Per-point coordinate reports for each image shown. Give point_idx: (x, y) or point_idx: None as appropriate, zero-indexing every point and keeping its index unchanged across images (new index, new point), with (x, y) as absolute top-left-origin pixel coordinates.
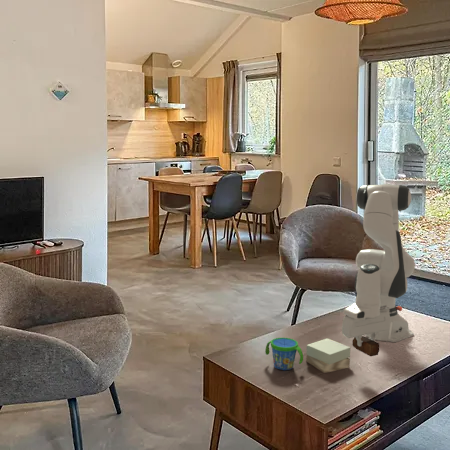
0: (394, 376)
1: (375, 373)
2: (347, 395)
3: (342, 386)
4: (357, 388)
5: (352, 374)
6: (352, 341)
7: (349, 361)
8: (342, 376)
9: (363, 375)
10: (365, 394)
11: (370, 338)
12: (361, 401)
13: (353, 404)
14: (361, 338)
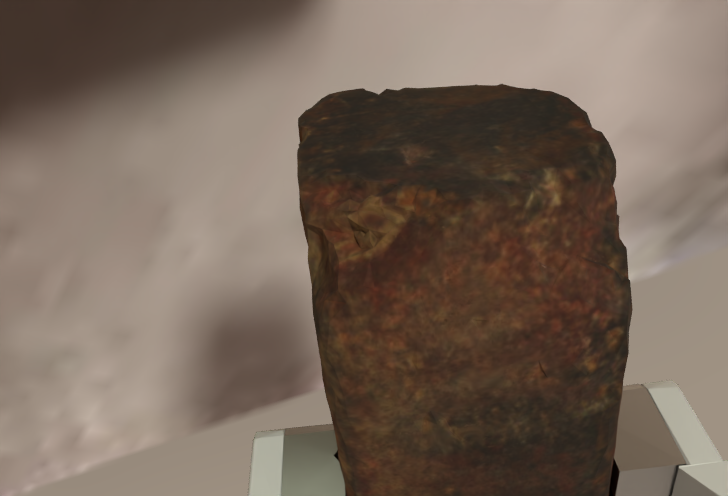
0: (695, 183)
1: (575, 65)
2: (42, 367)
3: (50, 229)
4: (187, 293)
5: (295, 4)
6: (299, 151)
7: None
8: (140, 17)
9: (409, 70)
10: (207, 383)
11: (643, 492)
12: (123, 450)
13: (43, 468)
14: (420, 473)
